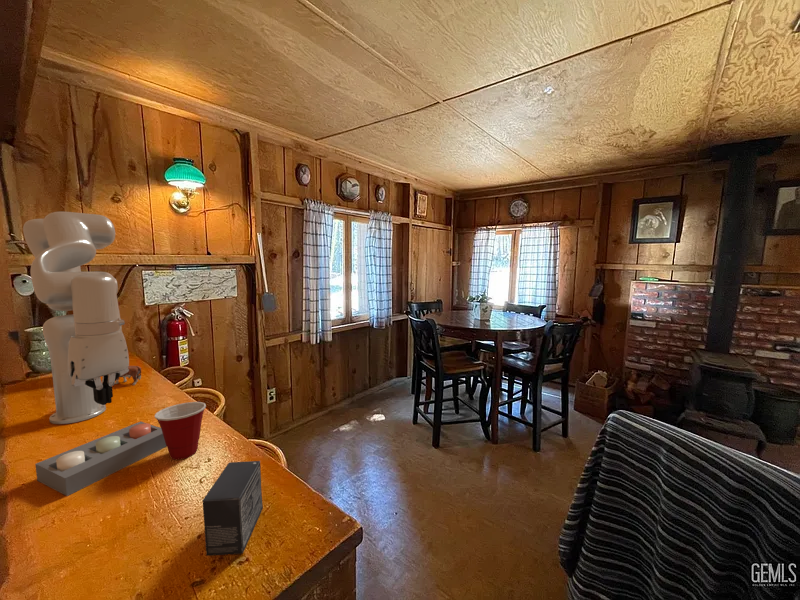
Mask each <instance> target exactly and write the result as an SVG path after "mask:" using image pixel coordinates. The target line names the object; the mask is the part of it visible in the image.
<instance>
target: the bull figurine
mask: <svg viewBox="0 0 800 600" xmlns="http://www.w3.org/2000/svg"><path fill="white" fill-rule="evenodd" d="M128 369H129V371H128V372H127V373H125V374H123V375H121V376H119V377H118V379H117V380H116V381H115V384H114V385H117V384H119V380H120V378H123V383H127V381H128V380H127V378H128V379H131V377H132V379H133V383H132V386H136V385H137V382H139V381H140V380H141V378H142V367H141V366H139V365H129V366H128Z"/></svg>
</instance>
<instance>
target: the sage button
mask: <svg viewBox="0 0 800 600" xmlns="http://www.w3.org/2000/svg"><path fill="white" fill-rule="evenodd" d="M119 446H121V444H120V437H119V436H111V437H107V438H104V439H101V440H99V441H98V442H97V443H96V452H97V453H100V454H103V453H106V452H108V451H110V450H112V449H115V448H117V447H119Z"/></svg>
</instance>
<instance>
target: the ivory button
mask: <svg viewBox="0 0 800 600" xmlns="http://www.w3.org/2000/svg"><path fill="white" fill-rule="evenodd" d="M83 462H85V456H84V452H83V451H74V452H70V453H67V454H64V455H62V456H60V457H59V458H58V459H57V460H56V463H57V470H59V471H61V472H63V471H65V470H67V469H69V468H72V467H74V466H76V465H78V464H81V463H83Z"/></svg>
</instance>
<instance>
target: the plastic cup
mask: <svg viewBox="0 0 800 600" xmlns="http://www.w3.org/2000/svg"><path fill="white" fill-rule="evenodd" d="M206 407H207V405H206V403H205V402H201V401H190V402H188V401H187V402H183V403H177V404H174V405H171V406H166V407H165V408H162V409H160V410H159V411H157V412H156V413H154V418H155V419H156V420H157V422H158V424H159V427H160V428H161V429H162V433H163V436H164V439H165V443H166V446H167V447H166V448H167V450H168V455H169V457H170V458H171V460H175V461H176V460H177V461H178V460H184V459H188V458H190V457H192V456H194V455H195V454H196V452H198V449H199V442H200V440H199V439H200V438H201V437H200V435H201V429H202V421H203V417H204V416H203V415H204V412H205V409H206Z"/></svg>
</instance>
